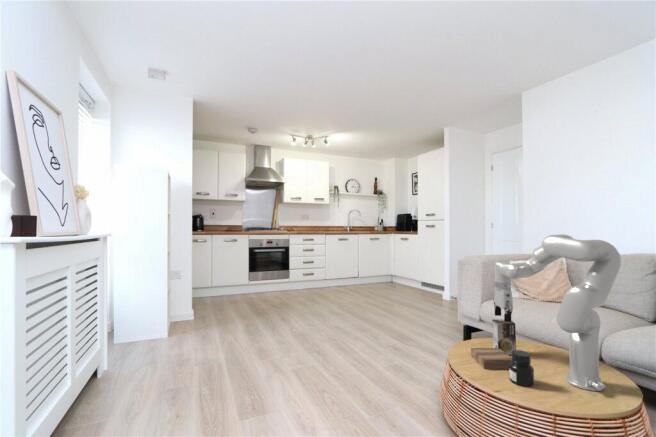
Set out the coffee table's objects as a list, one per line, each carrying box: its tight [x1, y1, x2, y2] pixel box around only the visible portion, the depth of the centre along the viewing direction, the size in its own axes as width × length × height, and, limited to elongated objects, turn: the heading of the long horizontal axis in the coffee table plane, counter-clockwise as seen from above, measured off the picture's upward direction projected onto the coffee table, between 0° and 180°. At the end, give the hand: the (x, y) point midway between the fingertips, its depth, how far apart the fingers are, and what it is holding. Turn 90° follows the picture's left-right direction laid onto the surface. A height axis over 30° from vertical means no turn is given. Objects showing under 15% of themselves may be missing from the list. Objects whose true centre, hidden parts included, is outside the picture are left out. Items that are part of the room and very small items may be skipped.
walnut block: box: [470, 347, 512, 370], centre depth 151 cm, size 14×14×4 cm
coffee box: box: [492, 319, 517, 356], centre depth 163 cm, size 9×6×16 cm
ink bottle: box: [508, 349, 535, 388], centre depth 132 cm, size 10×9×12 cm
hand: (502, 318), depth 164 cm, fingers open, 9 cm apart
